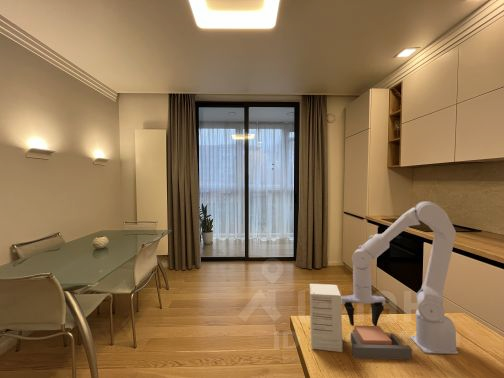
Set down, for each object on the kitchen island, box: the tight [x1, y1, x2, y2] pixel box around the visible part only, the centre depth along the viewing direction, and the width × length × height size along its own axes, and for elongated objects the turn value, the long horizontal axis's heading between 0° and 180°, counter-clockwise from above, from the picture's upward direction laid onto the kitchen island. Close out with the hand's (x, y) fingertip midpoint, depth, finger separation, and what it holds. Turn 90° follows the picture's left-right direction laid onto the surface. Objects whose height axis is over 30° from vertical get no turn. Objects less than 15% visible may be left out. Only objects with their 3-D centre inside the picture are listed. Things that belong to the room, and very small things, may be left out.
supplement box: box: [309, 283, 343, 353], centre depth 79 cm, size 10×9×17 cm
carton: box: [353, 325, 392, 345], centre depth 77 cm, size 8×8×4 cm
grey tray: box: [350, 332, 413, 360], centre depth 75 cm, size 16×8×3 cm, turn 86°
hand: (363, 324), depth 85 cm, fingers open, 7 cm apart
